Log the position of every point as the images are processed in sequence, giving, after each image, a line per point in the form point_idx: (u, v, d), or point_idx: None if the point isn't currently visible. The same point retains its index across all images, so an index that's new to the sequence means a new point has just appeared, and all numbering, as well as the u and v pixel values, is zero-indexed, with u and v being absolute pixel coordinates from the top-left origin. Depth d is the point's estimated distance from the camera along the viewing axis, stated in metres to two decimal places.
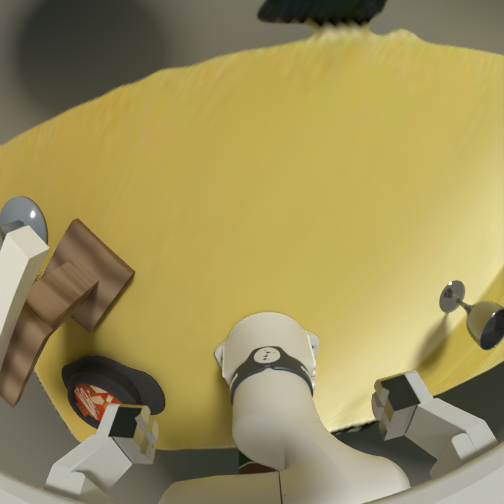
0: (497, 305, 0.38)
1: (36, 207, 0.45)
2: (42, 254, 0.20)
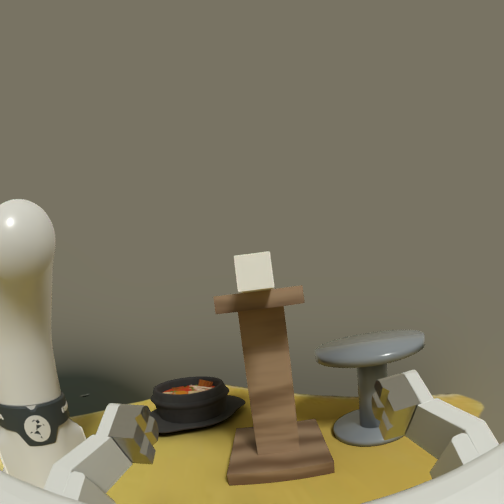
0: None
1: (383, 440, 0.35)
2: (237, 281, 0.25)
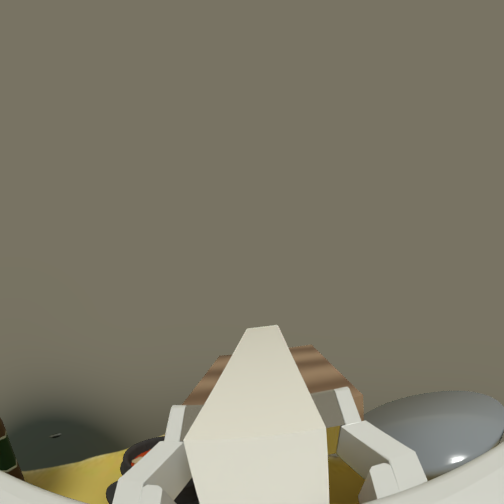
0: None
1: None
2: None
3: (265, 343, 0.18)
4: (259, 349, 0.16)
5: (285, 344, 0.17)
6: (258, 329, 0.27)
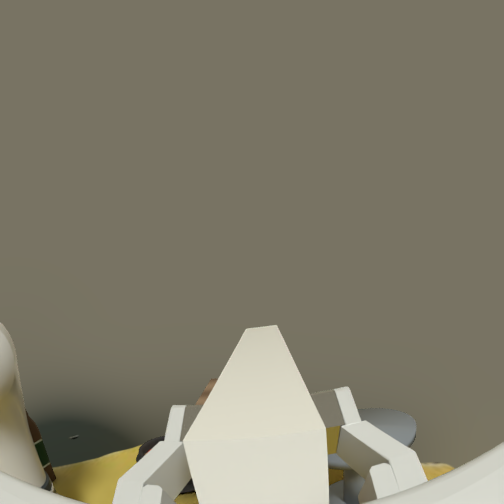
0: None
1: None
2: None
3: (264, 343, 0.18)
4: (258, 349, 0.16)
5: (284, 344, 0.17)
6: (257, 329, 0.27)
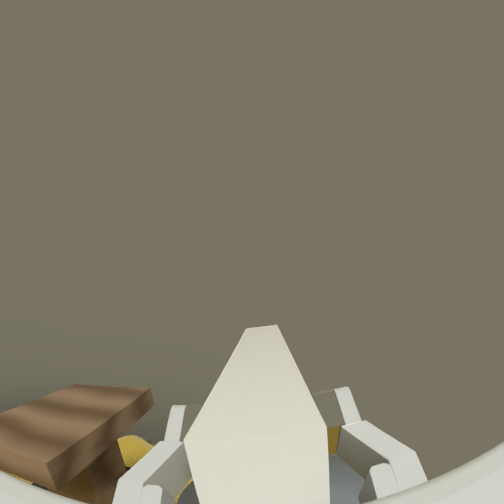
0: None
1: None
2: None
3: (265, 343, 0.18)
4: (259, 349, 0.16)
5: (285, 344, 0.17)
6: (257, 329, 0.27)
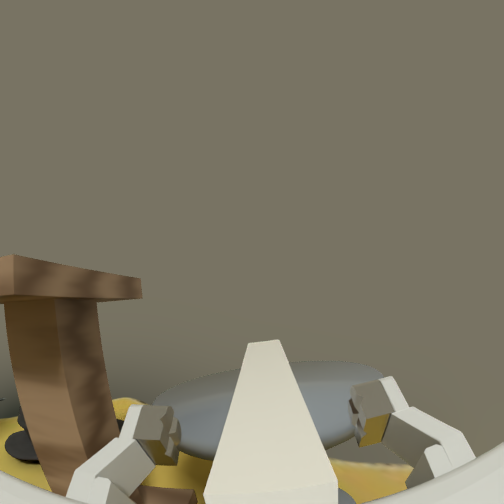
0: None
1: None
2: None
3: (269, 366, 0.18)
4: (264, 374, 0.16)
5: (289, 368, 0.17)
6: (260, 345, 0.27)
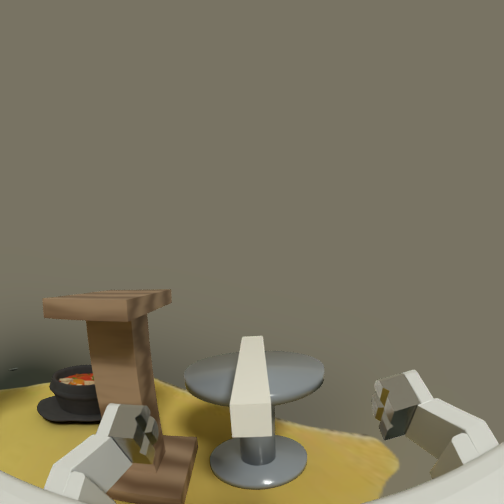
0: None
1: (254, 485, 0.30)
2: None
3: (254, 356, 0.33)
4: (251, 361, 0.31)
5: (264, 359, 0.32)
6: (250, 339, 0.42)
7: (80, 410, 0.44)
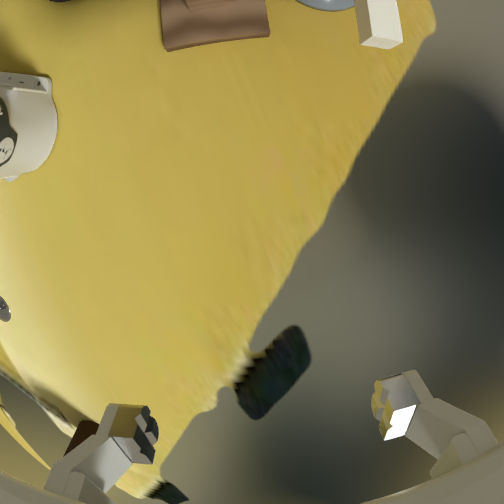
0: None
1: (325, 9, 0.31)
2: (363, 38, 0.20)
3: None
4: None
5: None
6: None
7: None
